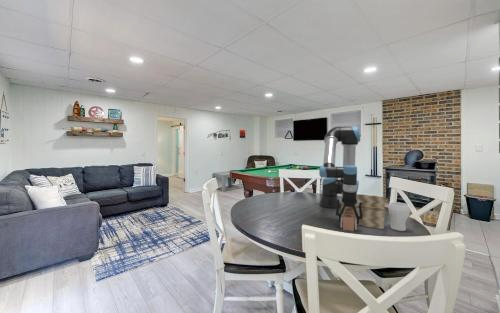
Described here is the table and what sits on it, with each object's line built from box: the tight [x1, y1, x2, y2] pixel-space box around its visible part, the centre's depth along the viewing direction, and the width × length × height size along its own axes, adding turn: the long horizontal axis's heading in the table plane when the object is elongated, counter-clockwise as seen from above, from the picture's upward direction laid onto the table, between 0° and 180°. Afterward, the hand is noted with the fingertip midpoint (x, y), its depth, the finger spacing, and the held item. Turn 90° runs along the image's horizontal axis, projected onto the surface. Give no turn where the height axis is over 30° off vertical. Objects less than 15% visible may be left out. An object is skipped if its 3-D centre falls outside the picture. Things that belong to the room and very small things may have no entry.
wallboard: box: [340, 192, 386, 230], centre depth 136 cm, size 24×5×19 cm, turn 62°
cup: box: [387, 201, 411, 232], centre depth 129 cm, size 11×11×15 cm
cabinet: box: [342, 210, 355, 232], centre depth 131 cm, size 6×10×9 cm, turn 152°
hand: (348, 228), depth 130 cm, fingers open, 7 cm apart
